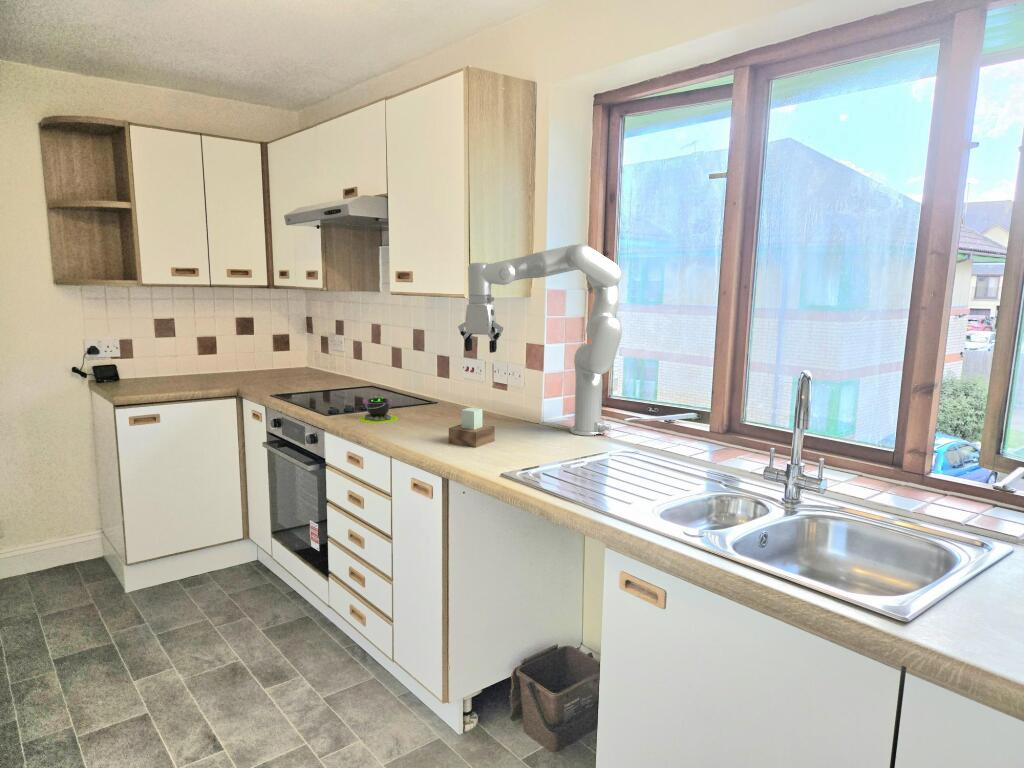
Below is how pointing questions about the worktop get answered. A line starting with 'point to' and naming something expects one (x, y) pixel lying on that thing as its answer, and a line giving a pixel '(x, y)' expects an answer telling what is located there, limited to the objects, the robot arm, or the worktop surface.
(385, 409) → the toy cauldron
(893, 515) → the worktop surface
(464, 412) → the sage block
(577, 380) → the robot arm
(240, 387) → the worktop surface
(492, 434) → the block
